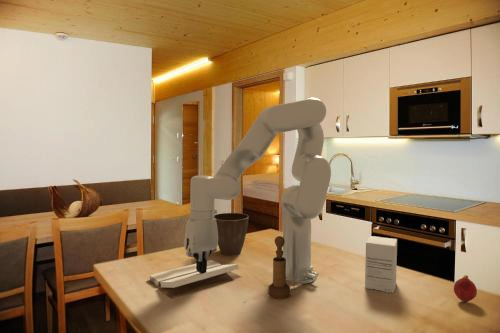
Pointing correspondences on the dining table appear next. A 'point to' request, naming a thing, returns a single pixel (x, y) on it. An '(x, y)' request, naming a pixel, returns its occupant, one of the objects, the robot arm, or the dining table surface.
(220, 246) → the plant pot
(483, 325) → the dining table surface
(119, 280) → the dining table surface
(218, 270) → the pale plank
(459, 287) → the onion
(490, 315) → the dining table surface
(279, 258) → the mortar and pestle
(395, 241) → the supplement box
